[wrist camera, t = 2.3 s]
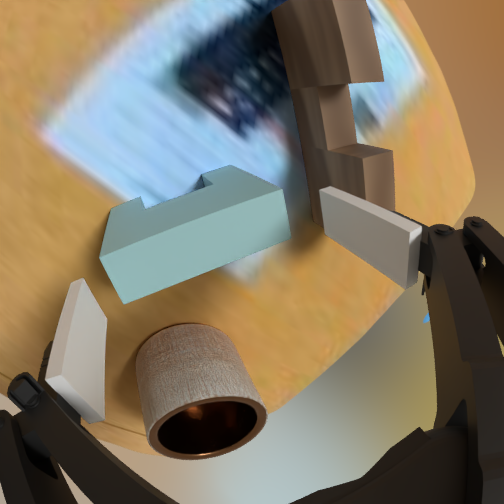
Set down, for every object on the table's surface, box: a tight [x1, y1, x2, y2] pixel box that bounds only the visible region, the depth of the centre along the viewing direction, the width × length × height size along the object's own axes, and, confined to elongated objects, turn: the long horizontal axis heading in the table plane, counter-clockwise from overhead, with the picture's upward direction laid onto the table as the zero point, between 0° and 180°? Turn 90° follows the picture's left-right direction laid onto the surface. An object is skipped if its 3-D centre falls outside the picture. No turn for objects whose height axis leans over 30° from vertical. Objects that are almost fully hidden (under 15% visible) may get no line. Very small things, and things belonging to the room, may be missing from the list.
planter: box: [135, 324, 268, 460], centre depth 25 cm, size 11×11×10 cm
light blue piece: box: [99, 165, 291, 304], centre depth 19 cm, size 10×3×9 cm, turn 102°
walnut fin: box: [271, 0, 395, 228], centre depth 20 cm, size 3×20×8 cm, turn 12°
